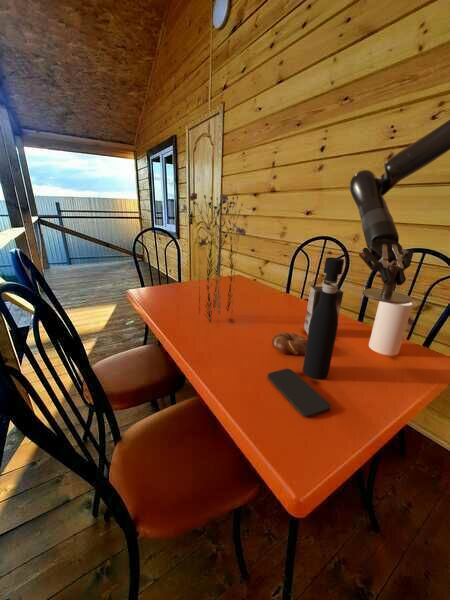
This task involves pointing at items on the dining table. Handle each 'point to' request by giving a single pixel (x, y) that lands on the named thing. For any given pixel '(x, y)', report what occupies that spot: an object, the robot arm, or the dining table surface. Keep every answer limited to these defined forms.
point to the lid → (388, 291)
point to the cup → (389, 327)
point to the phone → (299, 393)
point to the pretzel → (289, 343)
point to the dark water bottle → (323, 324)
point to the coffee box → (314, 301)
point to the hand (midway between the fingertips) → (395, 283)
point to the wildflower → (240, 231)
